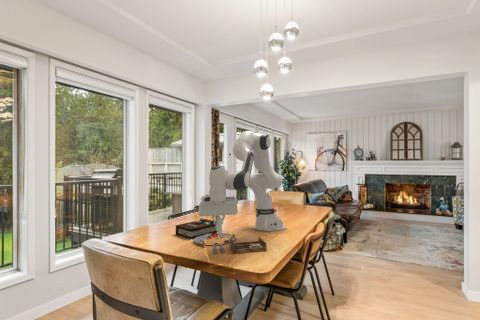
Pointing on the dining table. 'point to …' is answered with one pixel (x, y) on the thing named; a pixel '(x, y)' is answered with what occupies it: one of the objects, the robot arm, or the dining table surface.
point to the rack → (244, 246)
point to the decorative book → (196, 228)
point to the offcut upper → (255, 245)
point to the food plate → (215, 237)
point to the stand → (216, 248)
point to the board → (218, 224)
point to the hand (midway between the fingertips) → (218, 223)
